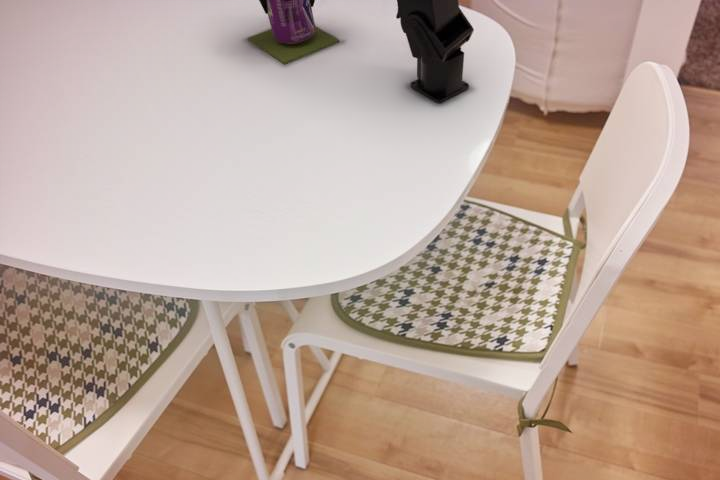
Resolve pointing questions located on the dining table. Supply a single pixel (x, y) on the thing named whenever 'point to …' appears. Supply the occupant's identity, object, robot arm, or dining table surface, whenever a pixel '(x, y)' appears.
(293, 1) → the beverage can
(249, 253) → the dining table surface
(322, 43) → the mat
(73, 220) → the dining table surface
